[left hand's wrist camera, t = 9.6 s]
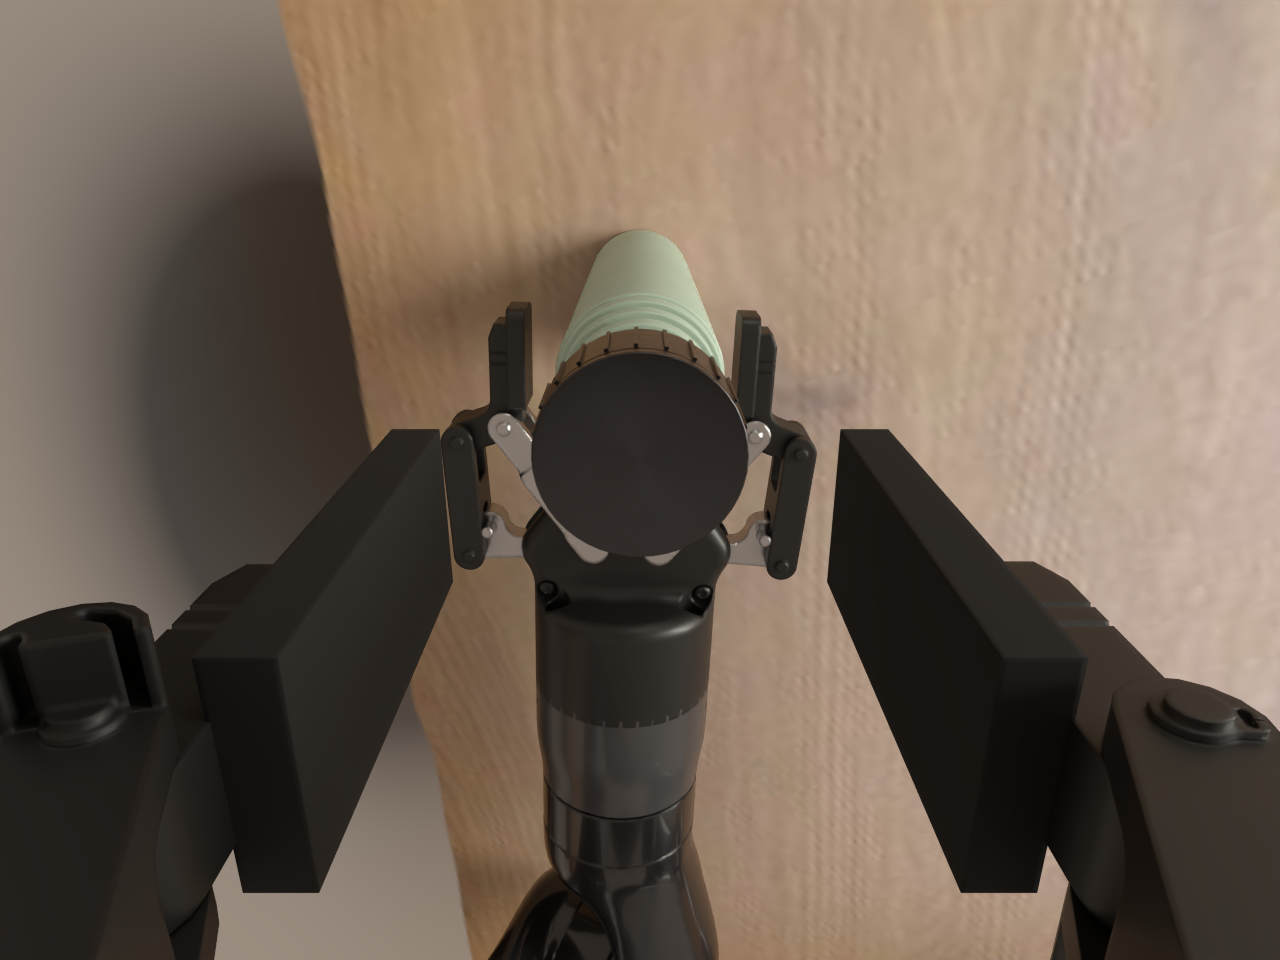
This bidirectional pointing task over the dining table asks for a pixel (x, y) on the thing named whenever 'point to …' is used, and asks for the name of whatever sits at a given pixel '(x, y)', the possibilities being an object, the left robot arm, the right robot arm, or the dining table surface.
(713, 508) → the cap
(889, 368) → the dining table surface
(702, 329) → the bottle
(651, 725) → the right robot arm
